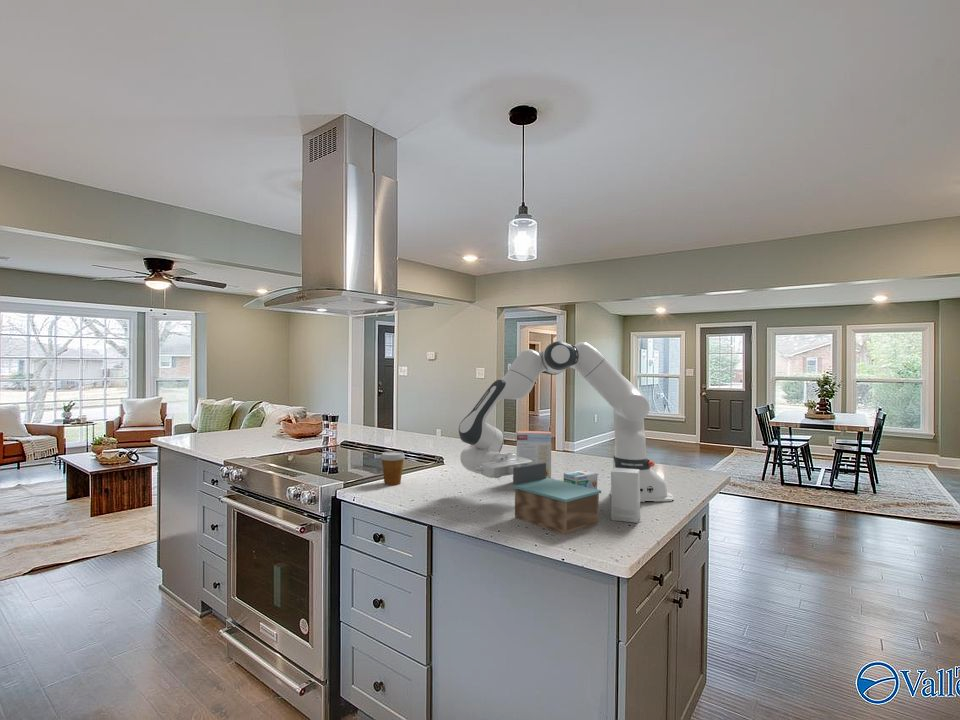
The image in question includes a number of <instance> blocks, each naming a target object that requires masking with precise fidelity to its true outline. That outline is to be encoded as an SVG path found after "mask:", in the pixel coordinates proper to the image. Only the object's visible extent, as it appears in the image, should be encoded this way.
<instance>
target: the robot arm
mask: <svg viewBox="0 0 960 720" xmlns="http://www.w3.org/2000/svg"><path fill="white" fill-rule="evenodd" d="M568 368H570V369H574V370H575V371H576V372H578V373H579V375H580V376H581V377H582V378H583V379H584V380H585V381H586V382H587V383H588V384H589V385H590V386H591V387H592V389H594V390H595V392H597V394H599V396H601V397H602V398H603V400H604V401H606V402H607V403H608V404H609V405H610V406H611V407H612V408H613V426H614V428H613V429H614V455H613V459H612V460H613V461H612V470H613V469H614V468H627V469H640V503H641V502H643V503H644V502H645V501H654V502H673V501H674V500H673V499H675V498H674V495H673V494H672V493H671V492H669V491H668V487H667V483H666V481H665V480H664V478H663V477H662V476H660V475H659V474H658V473H657V472H655V471H654V470H653V469H652V468H653V467H655V461H653V460H650V459H648V458H647V457H646V452H647V451H646V450H647V449H646V448H647V445H646V443H647V441H646V439H647V438H646V437H647V435H646V432H645V421H644V419H645V418H646V417H647V416H648V415H649V413H650V402H649V400H648V398H647V397H646V396H645V395H644V394H643V393H642V391H640V390H639V389H638V388H637V387H636V386H635V385H634V384H633V382H632V383H631V381H630V380H628V379H627V378H626V377H625V376H624V375H623V374H622V373H621V372H620V371H619V370H618V369H617V368H616V367H615V366H614V365H613V364H612V362H610V361H609V360H608V359H607V358H606V357H605V356H604V355H603V353H601V352H600V351H599V350H598V349H596V348H595V347H594V346H592V344H590V343H588V342H585V341H581V342H578V343H576V344H575V345H574V344H570V343H567V342H565V341H553V342H551V343H549V344H548V345H547V346H546V347H545V348H544V349H543V350H542V351H541V352H540V351H536V350H534V349H531V348H526V349H523V350H522V351H520V352H519V354H518V355H517V357H515V358H514V361H513V362H512V363H511V365H510V366H509V368H508V370H507V371H506V373H505V375H503V377H502V378H500V379H496V380H494V381H493V383H492V384H491V385H490V386H489V387H488V388H487V389H486V391H485V392H484V393H483V395H482V396H481V397H480V399H479V401H477V403H476V404H475V405H474V407H473V408H472V410H471V411H470V412H469V413H468V414H467V415H466V416H465V417H464V418H463V419H462V420H461V421H460V423H459V426H458V435H459V438H460V440H461V441H462V442H463V443H465V444H468V445H469V446H467V447H466V448H464V449H462V451H461V452H460V456H459V457H460V458H459V459H460V463H461V465H462V467H463V468H465V469H466V470H467V471H470V472H471V473H476V474H480V475H481V476H484V477H487V478H490V479H493V478H494V479H500V478H501V477H505V476H511V475H512V476H513V467H518V466H524V465H530V464H533V462H532V460H530V459H526V458H523V457H519V456H517V455H516V454H515V453H507V452H506V453H502V452H501V451H502V448H503V445H504V441H505V438H504V433H503V431H502V430H501V429H498V428H497V427H495V426H493V424H490V423H488V422H486V421H485V420H486V418H487V417H488V416H489V414H490V412H492V410H493V409H494V407H495V406H496V405H497V403H498V402H499V401H502V400H506V399H507V400H522V399H524V398H526V397H527V396H528V395H529V394H530V393H531V391H532V389H533V388H534V386H535V384H536V382H537V380H538V378H539V377H540V375H541V374H547V375H551V376H553V375H554V376H555V375H558V374H561V373H563V372H566V370H567V369H568ZM609 495H610V496H611V489H610V490H609ZM672 500H673V501H672ZM645 503H646V502H645Z"/></svg>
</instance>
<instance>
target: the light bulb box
mask: <svg viewBox="0 0 960 720" xmlns="http://www.w3.org/2000/svg"><path fill="white" fill-rule="evenodd" d="M563 481H564V482H568V483H572V484H576V485H581V486H585V487H589V488H593V489H597V490H598V473H597V472H594V471H593V472H592V471H588V470H585V469H582V470H578V471H570V472H564V473H563Z"/></svg>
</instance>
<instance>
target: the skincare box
mask: <svg viewBox="0 0 960 720" xmlns="http://www.w3.org/2000/svg"><path fill="white" fill-rule="evenodd" d="M610 490H611V495H610V497H611V499H610V501H611V503H610V505H611V506H610V507H611V511H610V512H611V515H610V516H611V521H617V522H625V523H626V522H627V523H632V524H633V523H634V524H638V523H639V521H640V520H641V519H640V518H641V502H640V469H627V468H614V469H613V468H612V470H611V471H610Z"/></svg>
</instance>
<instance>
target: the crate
mask: <svg viewBox="0 0 960 720" xmlns="http://www.w3.org/2000/svg"><path fill="white" fill-rule="evenodd" d="M599 499H600V494H596V495H592V496H588V497H584V498H581V499H577V500H573V501H569V502H562V501H559V500H555V499H551V498H548V497H544V496H541V495H537V494H533V493H530V492H526V491H523V490H519V489H515V488H514V518H515V519H517V518H519V519H518V520H520V519H521V521H523V520H524V522H526V521H527V523H529V522H530V524H532V523H533V525H535V524H536V526H538V525H539V526H538V527H541V526H542V527H541V528H544V527H545V529H547V530H550V531H554V532H555V533H558V534H561V535H568V534H570V533H574V532H577V531H580V530H582V529H583V530H584V529H586V528H590V527H591V526H594V525H595V526H596V525H599V514H600V513H599V512H600V511H599V504H600V503H599V502H600V500H599Z"/></svg>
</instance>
